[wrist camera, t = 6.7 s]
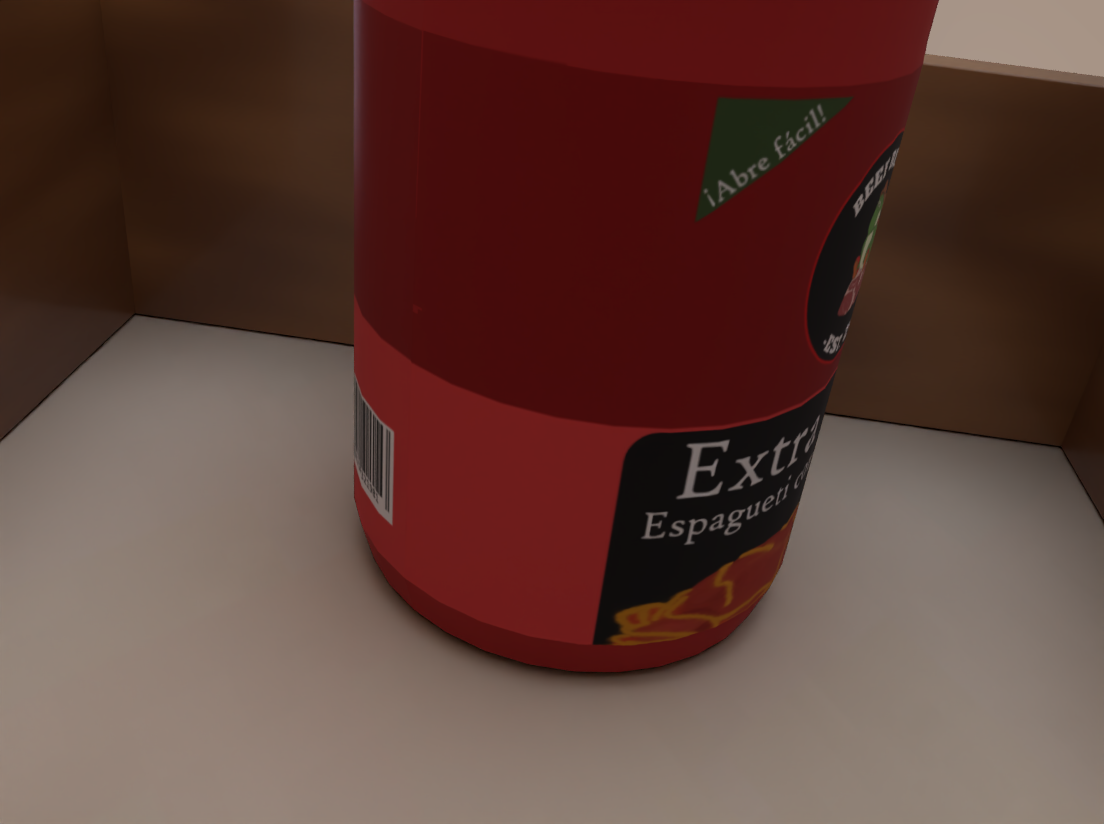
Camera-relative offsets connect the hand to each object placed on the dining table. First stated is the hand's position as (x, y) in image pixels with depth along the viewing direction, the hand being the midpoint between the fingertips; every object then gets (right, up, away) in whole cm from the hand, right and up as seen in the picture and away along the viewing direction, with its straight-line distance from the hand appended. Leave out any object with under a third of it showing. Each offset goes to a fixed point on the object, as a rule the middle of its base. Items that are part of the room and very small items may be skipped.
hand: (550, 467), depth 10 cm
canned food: (0, -2, +9) cm, 9 cm away
